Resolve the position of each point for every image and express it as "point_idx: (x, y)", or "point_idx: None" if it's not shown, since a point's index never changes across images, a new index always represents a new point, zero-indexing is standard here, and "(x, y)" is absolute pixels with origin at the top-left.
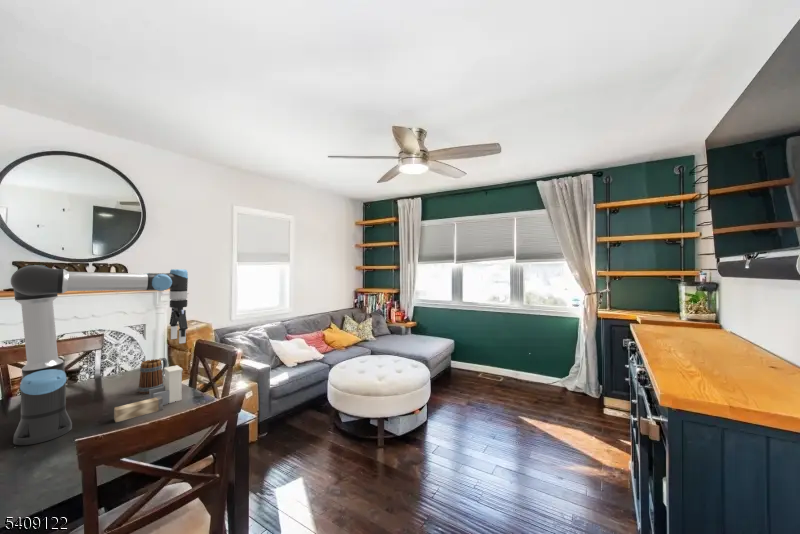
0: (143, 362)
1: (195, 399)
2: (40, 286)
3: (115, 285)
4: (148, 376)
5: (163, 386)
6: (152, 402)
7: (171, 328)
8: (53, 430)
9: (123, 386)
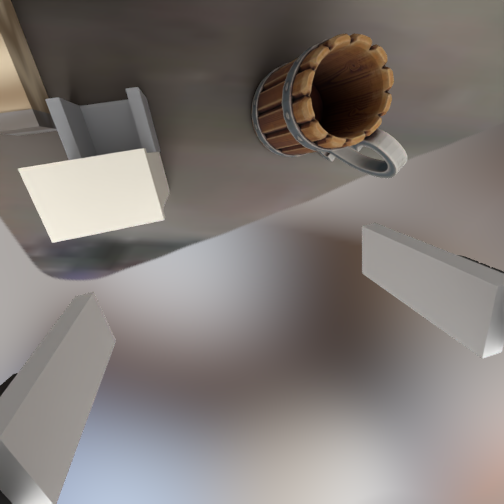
0: (372, 49)
1: (87, 244)
2: None
3: None
4: (277, 88)
5: (152, 147)
6: None
7: (470, 276)
8: None
9: (405, 21)
